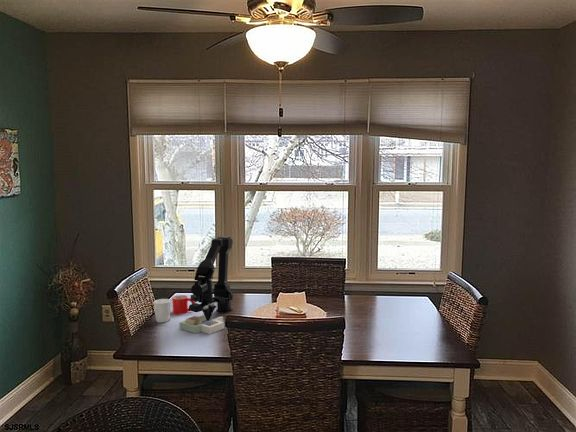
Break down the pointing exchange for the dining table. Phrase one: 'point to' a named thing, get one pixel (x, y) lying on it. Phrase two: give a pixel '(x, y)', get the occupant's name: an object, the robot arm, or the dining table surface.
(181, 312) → the mug
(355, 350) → the dining table surface
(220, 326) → the angular open frame
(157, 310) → the white cup
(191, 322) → the block
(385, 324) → the dining table surface
